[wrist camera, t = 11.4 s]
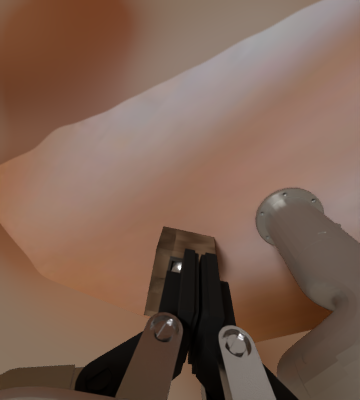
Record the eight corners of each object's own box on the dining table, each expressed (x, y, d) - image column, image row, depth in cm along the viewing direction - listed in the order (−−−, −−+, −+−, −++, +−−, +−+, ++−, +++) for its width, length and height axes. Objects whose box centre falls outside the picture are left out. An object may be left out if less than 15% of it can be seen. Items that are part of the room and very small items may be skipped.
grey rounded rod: (195, 242, 48) (194, 268, 40) (191, 257, 49) (190, 285, 41) (177, 238, 48) (173, 263, 40) (174, 254, 49) (169, 281, 41)
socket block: (213, 237, 47) (216, 262, 39) (196, 296, 54) (195, 328, 46) (163, 226, 47) (156, 249, 39) (151, 287, 54) (143, 317, 46)
